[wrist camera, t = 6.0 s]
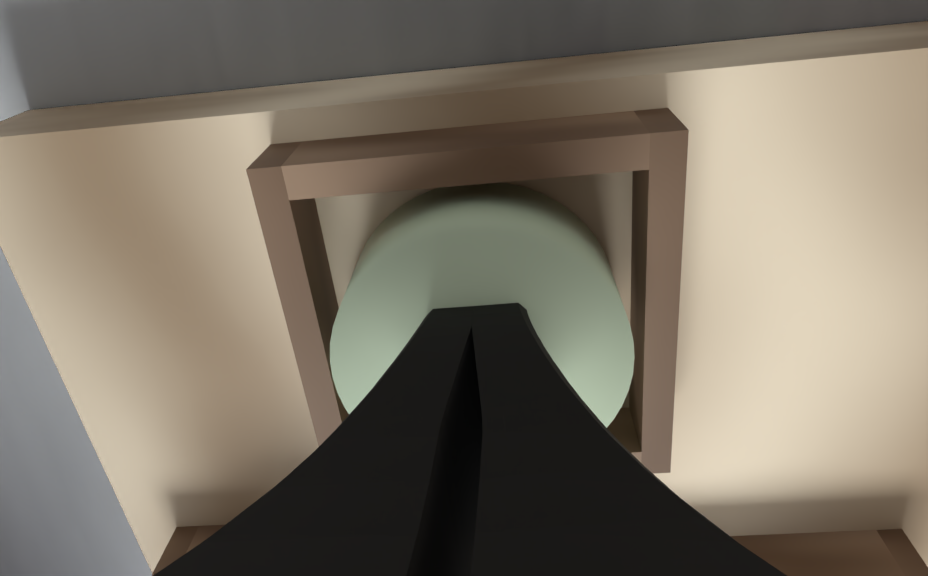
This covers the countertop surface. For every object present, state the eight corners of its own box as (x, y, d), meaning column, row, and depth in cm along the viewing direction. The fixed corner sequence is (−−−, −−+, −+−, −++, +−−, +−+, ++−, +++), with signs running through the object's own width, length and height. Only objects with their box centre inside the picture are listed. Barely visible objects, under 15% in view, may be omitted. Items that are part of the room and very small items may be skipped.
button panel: (252, 668, 20) (213, 790, 17) (27, 109, 12) (-108, 166, 10) (850, 650, 19) (913, 779, 16) (1018, 11, 11) (1197, 43, 8)
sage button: (374, 416, 13) (358, 487, 11) (329, 193, 11) (300, 241, 9) (614, 402, 12) (632, 473, 11) (614, 169, 10) (637, 214, 9)
